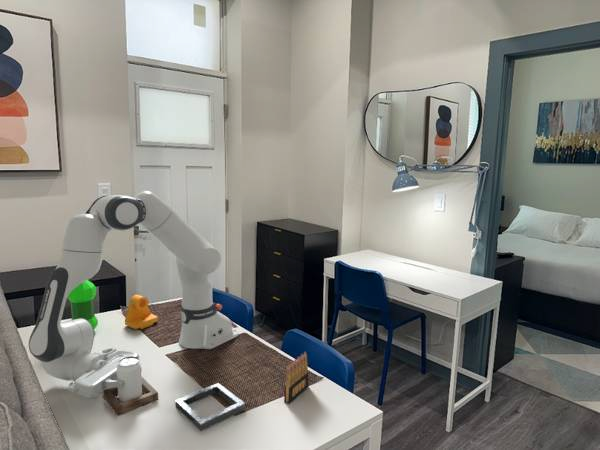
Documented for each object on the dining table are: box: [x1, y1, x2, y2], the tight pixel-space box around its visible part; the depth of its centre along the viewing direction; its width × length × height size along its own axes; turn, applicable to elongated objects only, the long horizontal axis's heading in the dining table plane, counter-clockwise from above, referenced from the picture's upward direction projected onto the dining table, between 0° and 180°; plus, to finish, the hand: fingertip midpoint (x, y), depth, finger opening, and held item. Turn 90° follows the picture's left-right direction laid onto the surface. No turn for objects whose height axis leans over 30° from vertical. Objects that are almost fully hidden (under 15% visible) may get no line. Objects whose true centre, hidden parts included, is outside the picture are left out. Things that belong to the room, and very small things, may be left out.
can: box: [117, 356, 143, 403], centre depth 123 cm, size 6×6×12 cm
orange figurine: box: [124, 294, 159, 330], centre depth 175 cm, size 11×7×12 cm, turn 143°
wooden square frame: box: [102, 375, 159, 417], centre depth 124 cm, size 12×12×2 cm
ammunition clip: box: [283, 351, 309, 404], centre depth 127 cm, size 11×2×12 cm, turn 147°
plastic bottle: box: [67, 279, 99, 330], centre depth 165 cm, size 10×10×25 cm
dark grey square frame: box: [175, 382, 246, 432], centre depth 121 cm, size 14×14×2 cm
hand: (131, 377), depth 123 cm, fingers closed on can, 6 cm apart
